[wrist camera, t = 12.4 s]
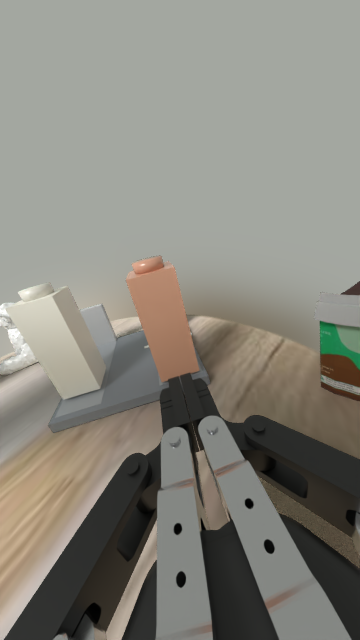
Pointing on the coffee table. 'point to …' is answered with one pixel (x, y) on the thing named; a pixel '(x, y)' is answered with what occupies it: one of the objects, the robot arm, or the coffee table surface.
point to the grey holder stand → (116, 375)
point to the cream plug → (59, 339)
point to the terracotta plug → (162, 316)
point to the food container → (340, 341)
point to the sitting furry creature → (15, 345)
